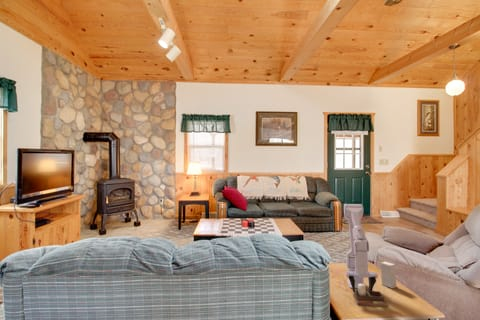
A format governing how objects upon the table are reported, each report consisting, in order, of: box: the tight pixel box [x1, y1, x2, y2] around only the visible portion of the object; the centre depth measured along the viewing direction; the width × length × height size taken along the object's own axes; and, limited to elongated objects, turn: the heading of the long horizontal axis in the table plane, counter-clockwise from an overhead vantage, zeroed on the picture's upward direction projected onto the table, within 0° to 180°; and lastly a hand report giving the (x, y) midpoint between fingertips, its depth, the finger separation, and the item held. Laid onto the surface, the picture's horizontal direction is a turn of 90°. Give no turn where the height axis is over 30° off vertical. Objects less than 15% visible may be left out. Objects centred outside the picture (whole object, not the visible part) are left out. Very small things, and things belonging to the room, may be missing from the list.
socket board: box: [352, 289, 388, 307], centre depth 136 cm, size 9×13×3 cm
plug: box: [357, 283, 367, 296], centre depth 138 cm, size 4×4×6 cm
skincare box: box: [380, 261, 397, 289], centre depth 153 cm, size 6×4×12 cm
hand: (362, 291), depth 138 cm, fingers open, 7 cm apart
